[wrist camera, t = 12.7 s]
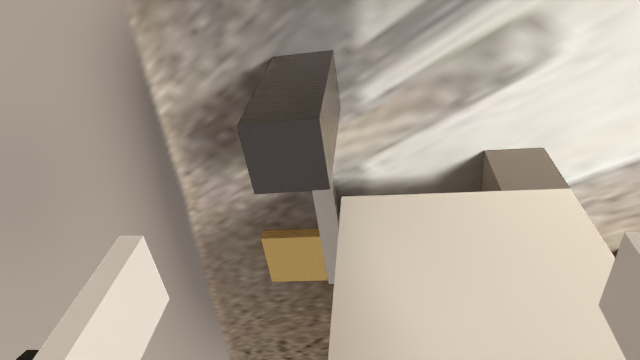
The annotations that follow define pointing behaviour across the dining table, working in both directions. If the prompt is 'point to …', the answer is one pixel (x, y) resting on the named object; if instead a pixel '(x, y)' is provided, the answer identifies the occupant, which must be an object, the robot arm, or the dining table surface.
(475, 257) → the toe-kick cabinet
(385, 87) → the dining table surface
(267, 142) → the grey post with bar
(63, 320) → the robot arm
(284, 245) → the brass block
